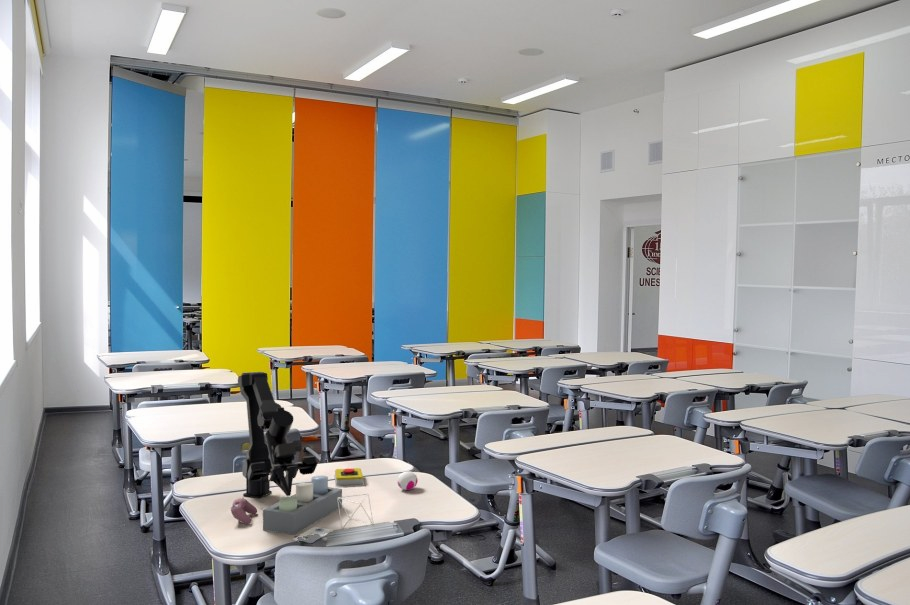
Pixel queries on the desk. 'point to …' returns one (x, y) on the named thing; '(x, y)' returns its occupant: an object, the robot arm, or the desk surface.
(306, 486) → the ivory button
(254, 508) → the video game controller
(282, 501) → the sage button
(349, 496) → the geometric polyhedron
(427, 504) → the desk surface
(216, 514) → the desk surface
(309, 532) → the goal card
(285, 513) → the grey compartment tray
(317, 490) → the slate-blue button
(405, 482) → the stress ball
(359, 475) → the emergency button
